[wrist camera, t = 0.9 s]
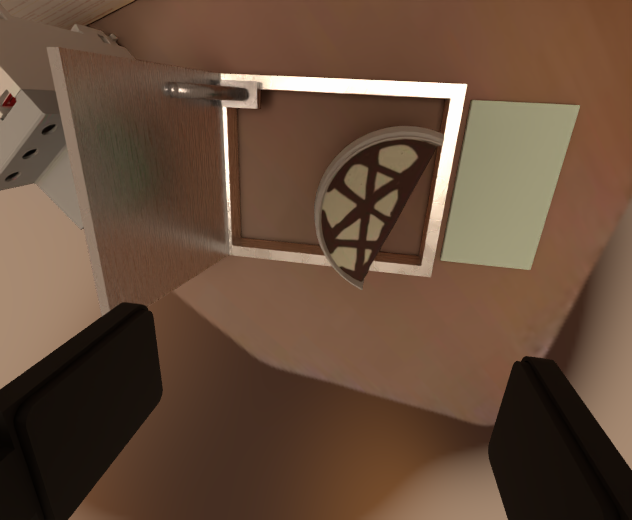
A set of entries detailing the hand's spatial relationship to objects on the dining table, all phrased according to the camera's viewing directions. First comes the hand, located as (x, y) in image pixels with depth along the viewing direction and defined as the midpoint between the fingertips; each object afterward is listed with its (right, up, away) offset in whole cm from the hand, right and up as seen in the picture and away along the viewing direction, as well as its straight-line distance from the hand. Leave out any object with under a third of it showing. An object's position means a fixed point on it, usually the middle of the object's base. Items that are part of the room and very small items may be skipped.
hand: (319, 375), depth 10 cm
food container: (+4, +11, +25) cm, 27 cm away
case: (0, +11, +25) cm, 27 cm away
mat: (+16, +9, +23) cm, 29 cm away
